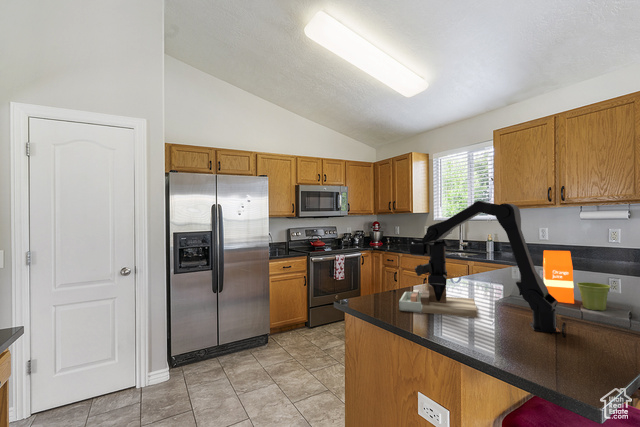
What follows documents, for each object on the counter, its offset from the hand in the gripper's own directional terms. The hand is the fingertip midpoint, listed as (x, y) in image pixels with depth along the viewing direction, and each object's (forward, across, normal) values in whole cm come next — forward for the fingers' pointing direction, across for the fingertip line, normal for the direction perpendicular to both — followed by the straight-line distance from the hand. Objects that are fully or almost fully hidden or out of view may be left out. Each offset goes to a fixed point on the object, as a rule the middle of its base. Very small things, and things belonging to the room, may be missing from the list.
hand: (438, 297), depth 117 cm
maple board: (+4, 0, +4) cm, 5 cm away
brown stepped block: (+1, 0, -2) cm, 2 cm away
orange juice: (+4, -27, +44) cm, 52 cm away
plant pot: (+4, -17, +52) cm, 55 cm away
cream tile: (+1, -4, -8) cm, 9 cm away
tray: (+4, 0, -10) cm, 11 cm away
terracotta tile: (+1, +4, -8) cm, 9 cm away
